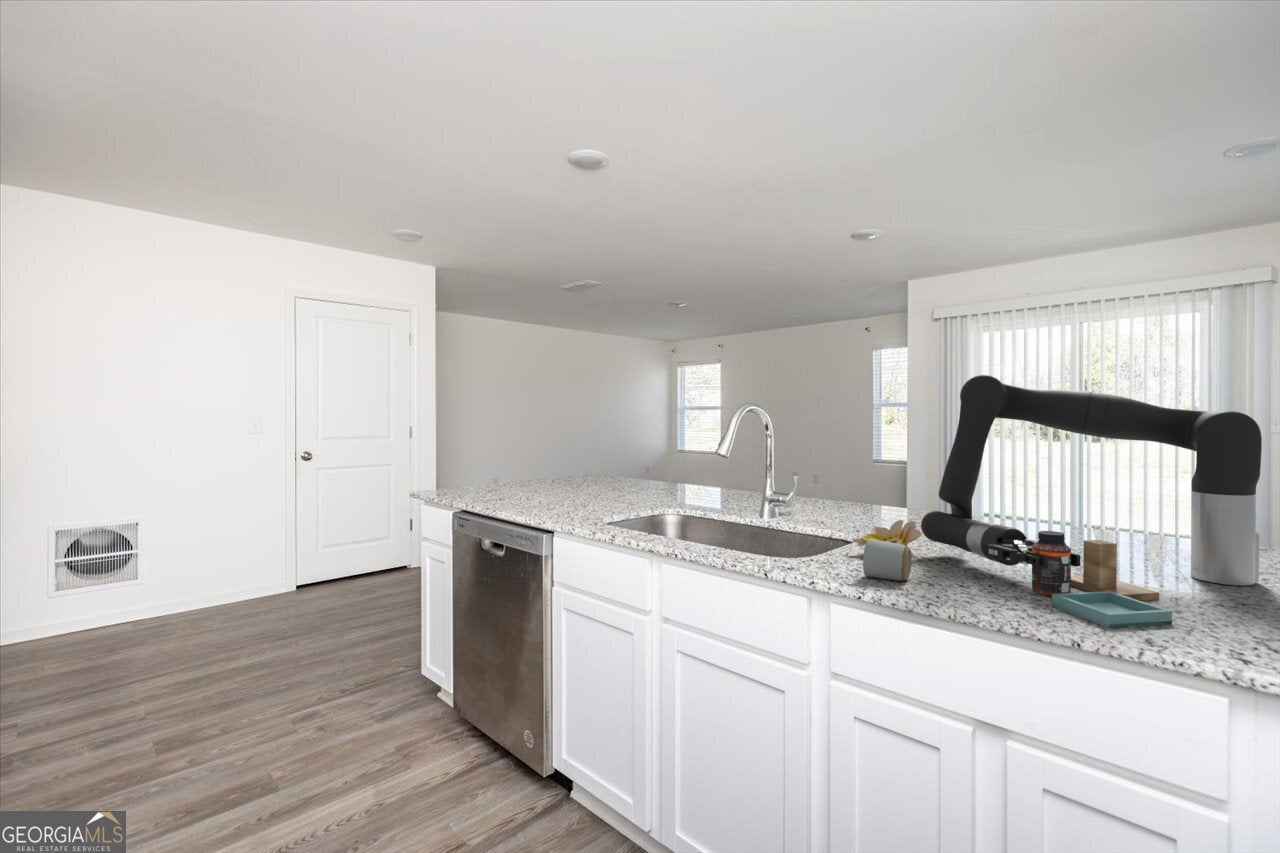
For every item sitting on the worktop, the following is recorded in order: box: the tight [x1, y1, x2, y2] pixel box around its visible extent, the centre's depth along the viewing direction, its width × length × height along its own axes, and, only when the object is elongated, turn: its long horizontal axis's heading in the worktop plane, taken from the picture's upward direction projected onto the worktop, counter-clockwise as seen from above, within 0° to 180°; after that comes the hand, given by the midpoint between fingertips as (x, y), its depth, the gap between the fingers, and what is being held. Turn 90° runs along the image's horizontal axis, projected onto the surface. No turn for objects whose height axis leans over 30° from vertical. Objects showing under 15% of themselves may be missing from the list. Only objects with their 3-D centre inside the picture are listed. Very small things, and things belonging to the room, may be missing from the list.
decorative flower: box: [851, 519, 923, 559], centre depth 144 cm, size 15×11×10 cm
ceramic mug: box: [862, 539, 913, 582], centre depth 127 cm, size 11×8×8 cm
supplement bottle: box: [1031, 530, 1072, 598], centre depth 113 cm, size 6×6×11 cm
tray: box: [1051, 591, 1173, 629], centre depth 102 cm, size 11×11×2 cm
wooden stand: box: [1071, 539, 1160, 601], centre depth 115 cm, size 8×12×9 cm, turn 8°
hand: (1062, 561), depth 111 cm, fingers closed on supplement bottle, 6 cm apart
